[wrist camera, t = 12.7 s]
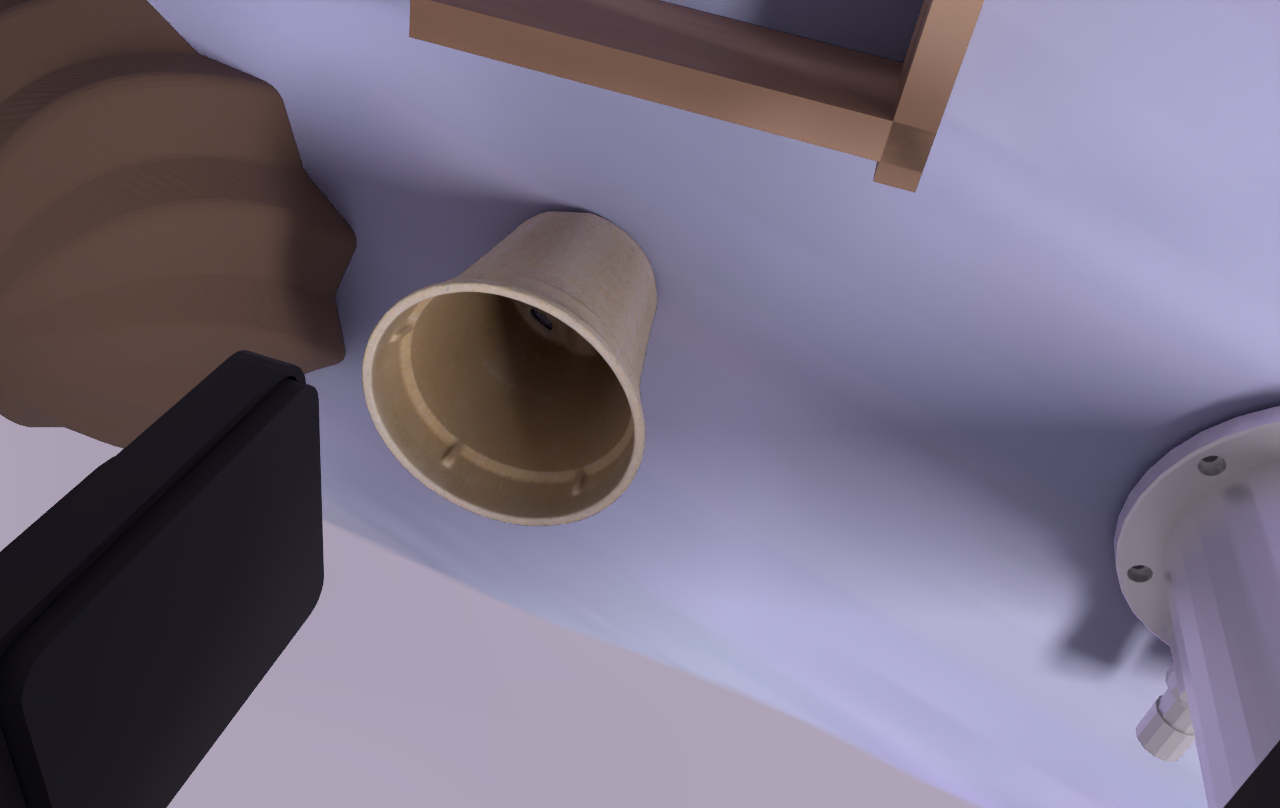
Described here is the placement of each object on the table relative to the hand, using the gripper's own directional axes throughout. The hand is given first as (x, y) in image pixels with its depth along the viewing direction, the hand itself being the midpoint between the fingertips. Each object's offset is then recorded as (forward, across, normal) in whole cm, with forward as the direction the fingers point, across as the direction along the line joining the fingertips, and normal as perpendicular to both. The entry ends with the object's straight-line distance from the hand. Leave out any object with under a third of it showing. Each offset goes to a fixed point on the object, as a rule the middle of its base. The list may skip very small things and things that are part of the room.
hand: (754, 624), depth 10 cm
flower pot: (+27, +9, +13) cm, 32 cm away
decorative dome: (+27, +28, +16) cm, 42 cm away
